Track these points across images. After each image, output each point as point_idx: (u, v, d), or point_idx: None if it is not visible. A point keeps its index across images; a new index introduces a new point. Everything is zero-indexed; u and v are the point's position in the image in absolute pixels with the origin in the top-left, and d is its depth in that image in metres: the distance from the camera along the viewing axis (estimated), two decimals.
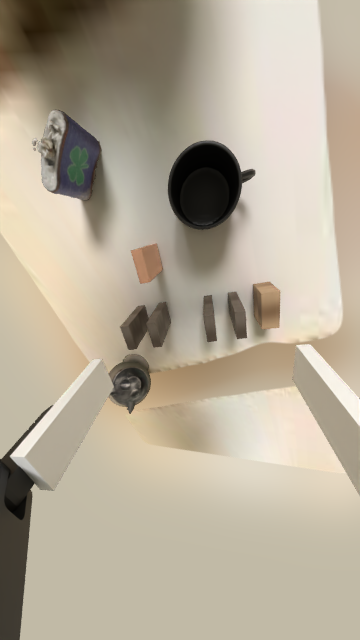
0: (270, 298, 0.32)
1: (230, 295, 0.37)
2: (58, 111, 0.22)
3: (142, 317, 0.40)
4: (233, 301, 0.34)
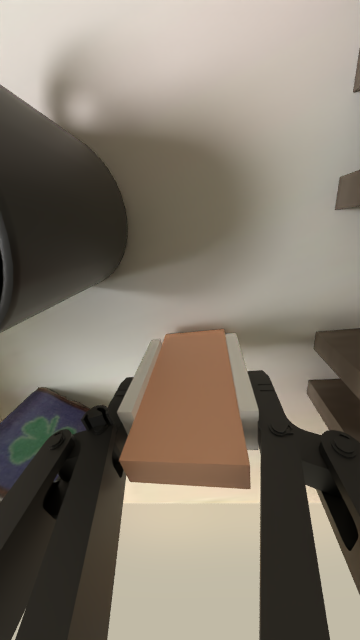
0: None
1: None
2: None
3: (354, 409, 0.14)
4: None
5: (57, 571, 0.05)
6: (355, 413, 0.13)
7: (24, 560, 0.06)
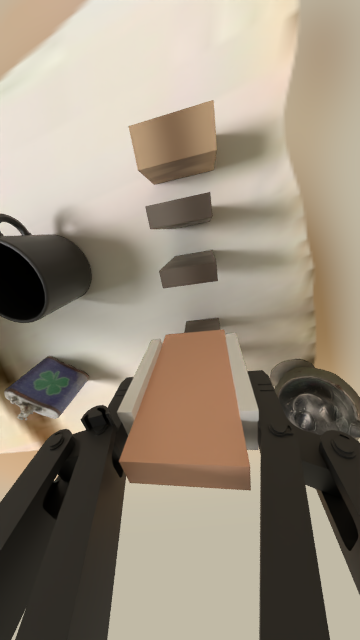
0: (145, 146, 0.16)
1: None
2: None
3: None
4: None
5: (57, 571, 0.05)
6: None
7: (24, 560, 0.06)
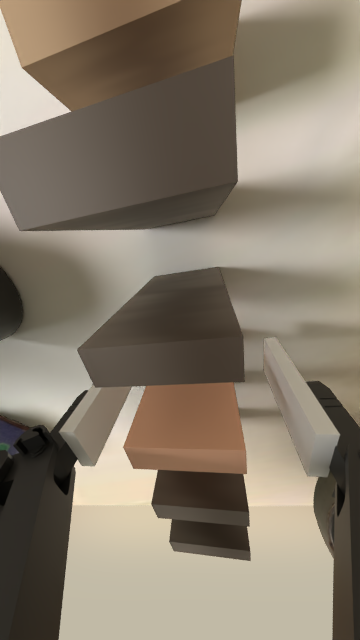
0: None
1: None
2: None
3: None
4: None
5: None
6: None
7: None
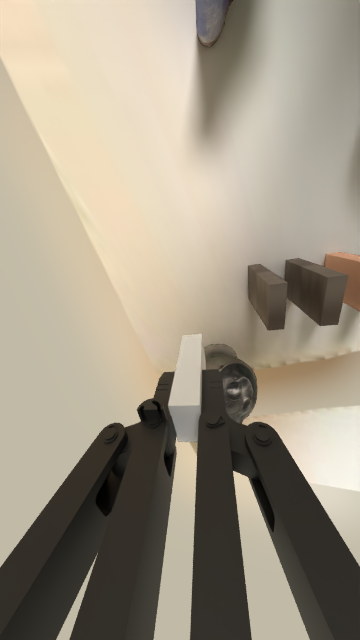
0: None
1: None
2: None
3: None
4: None
5: (113, 566, 0.05)
6: None
7: (76, 555, 0.06)
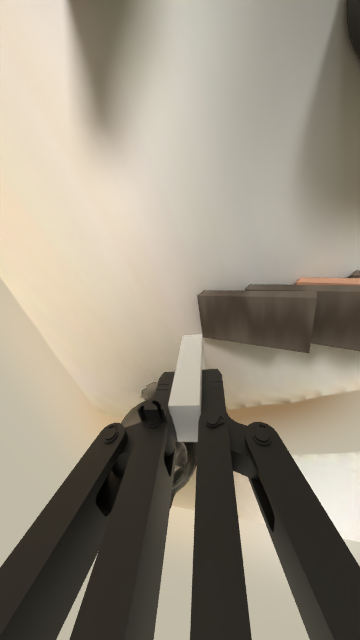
0: None
1: None
2: None
3: None
4: None
5: (113, 566, 0.05)
6: None
7: (76, 554, 0.06)
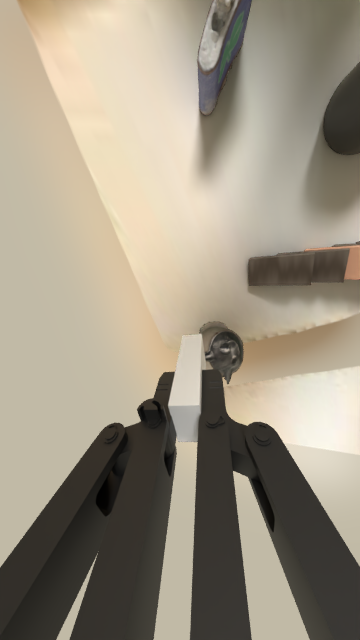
0: None
1: None
2: None
3: None
4: None
5: (113, 566, 0.05)
6: None
7: (76, 554, 0.06)
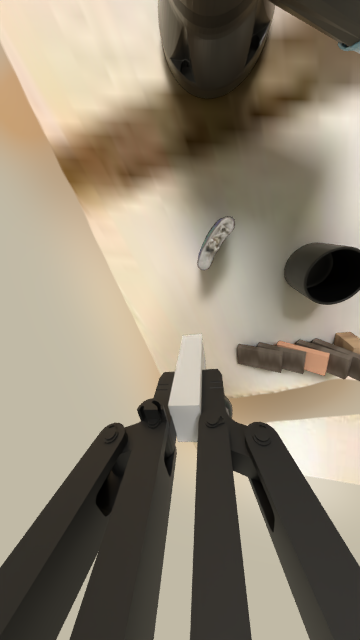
0: None
1: (321, 343, 0.43)
2: (231, 218, 0.28)
3: None
4: (338, 349, 0.40)
5: (113, 566, 0.05)
6: None
7: (76, 555, 0.06)
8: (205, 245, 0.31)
